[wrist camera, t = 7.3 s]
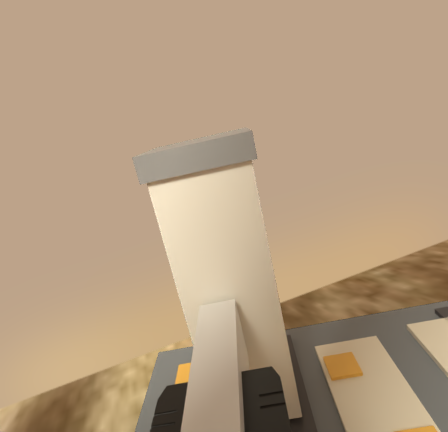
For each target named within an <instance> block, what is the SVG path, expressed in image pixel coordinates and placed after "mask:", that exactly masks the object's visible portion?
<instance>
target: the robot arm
mask: <svg viewBox="0 0 448 432" xmlns="http://www.w3.org/2000/svg"><path fill="white" fill-rule="evenodd" d="M150 432H292V430H291V425H290V420H289V416H288V411H287V406H286V401H285V397H284V392H283V387H282V382H281V378H280V376H279V375H278V373H277V372H276V371H275V370H274V368H273V367H272V366H270V367H264V368H258V369H253V370H249V358H248V352H247V348H246V343H245V339H244V335H243V331H242V327H241V322H240V318H239V314H238V310H237V305H236V301H235V299H233V300H228V301H222V302H217V303H212V304H207V305H201V306H200V307H199V313H198V320H197V326H196V333H195V340H194V346H193V353H192V360H191V366H190V373H189V379H188V382H185V383H179V384H174V385H168V386H166V388H165V389H164V391H163V392H162V394H161V395H160V397H159V398H158V400H157V404H156V408H155V412H154V417H153V420H152V424H151V429H150Z"/></svg>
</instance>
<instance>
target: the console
mask: <svg viewBox="0 0 448 432" xmlns="http://www.w3.org/2000/svg"><path fill="white" fill-rule="evenodd" d="M285 331H286V336H287V341H288V347H289V352H290V357H291V362H292V367H293V372H294V377H295V382H296V387H297V392H298V397H299V402H300V407H301V413H302V417H299V418H293V419H289V420H290V425H291V430H292V432H448V301H443V302H437V303H432V304H426V305H421V306H415V307H410V308H404V309H398V310H393V311H387V312H382V313H376V314H371V315H365V316H359V317H354V318H348V319H343V320H337V321H332V322H326V323H321V324H315V325H309V326H304V327H298V328H293V329H287V330H285ZM192 353H193V347H187V348H182V349H176V350H170V351H165V352H159V353H158V357H157V360H156V363H155V367H154V370H153V373H152V377H151V380H150V383H149V386H148V390H147V393H146V396H145V400H144V403H143V406H142V410H141V413H140V416H139V419H138V423H137V426H136V429H135V432H150V429H151V424H152V420H153V417H154V412H155V408H156V404H157V400H158V398H159V397H160V395H161V394H162V392H163V391H164V389H165V388H166V386H168V385H174V384H179V383H185V382H188V379H189V373H190V366H191V360H192Z"/></svg>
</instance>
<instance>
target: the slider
mask: <svg viewBox="0 0 448 432" xmlns="http://www.w3.org/2000/svg"><path fill="white" fill-rule="evenodd" d="M132 159H133V162H134V166H135V169H136V172H137V176H138V179H139V183H140V184H144V183H147V186H148V190H149V193H150V196H151V200H152V204H153V206H154V211H155V214H156V218H157V221H158V224H159V228H160V232H161V235H162V239H163V242H164V246H165V249H166V253H167V256H168V259H169V263H170V267H171V270H172V274H173V277H174V281H175V284H176V288H177V291H178V295H179V298H180V302H181V305H182V309H183V312H184V316H185V319H186V323H187V326H188V329H189V333H190V337H191V340H192V344H193V346H194V340H195V333H196V326H197V320H198V313H199V307H200V306H201V305H207V304H212V303H217V302H222V301H228V300H233V299H235V301H236V305H237V310H238V314H239V318H240V322H241V327H242V331H243V335H244V339H245V343H246V348H247V352H248V358H249V370H253V369H258V368H264V367H270V366H272V367H273V368H274V370H275V371H276V372H277V373H278V375H279V376H280V378H281V382H282V387H283V392H284V397H285V401H286V406H287V411H288V416H289V419H293V418H299V417H302V413H301V407H300V402H299V397H298V392H297V387H296V382H295V377H294V372H293V367H292V362H291V357H290V352H289V347H288V341H287V336H286V331H285V326H284V321H283V316H282V311H281V306H280V301H279V296H278V291H277V286H276V280H275V275H274V270H273V265H272V261H271V255H270V250H269V245H268V240H267V235H266V230H265V225H264V220H263V215H262V210H261V205H260V199H259V194H258V189H257V185H256V179H255V174H254V169H253V164H252V160H254V159H257V154H256V149H255V143H254V138H253V133H252V130H250V129H248V128H242V129H238V130H233V131H229V132H224V133H220V134H215V135H211V136H207V137H202V138H198V139H194V140H189V141H185V142H180V143H176V144H171V145H167V146H163V147H158V148H155V149H153V150H150V151H148V152H145V153H143V154H140V155H138V156H135V157H133V158H132Z"/></svg>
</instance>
